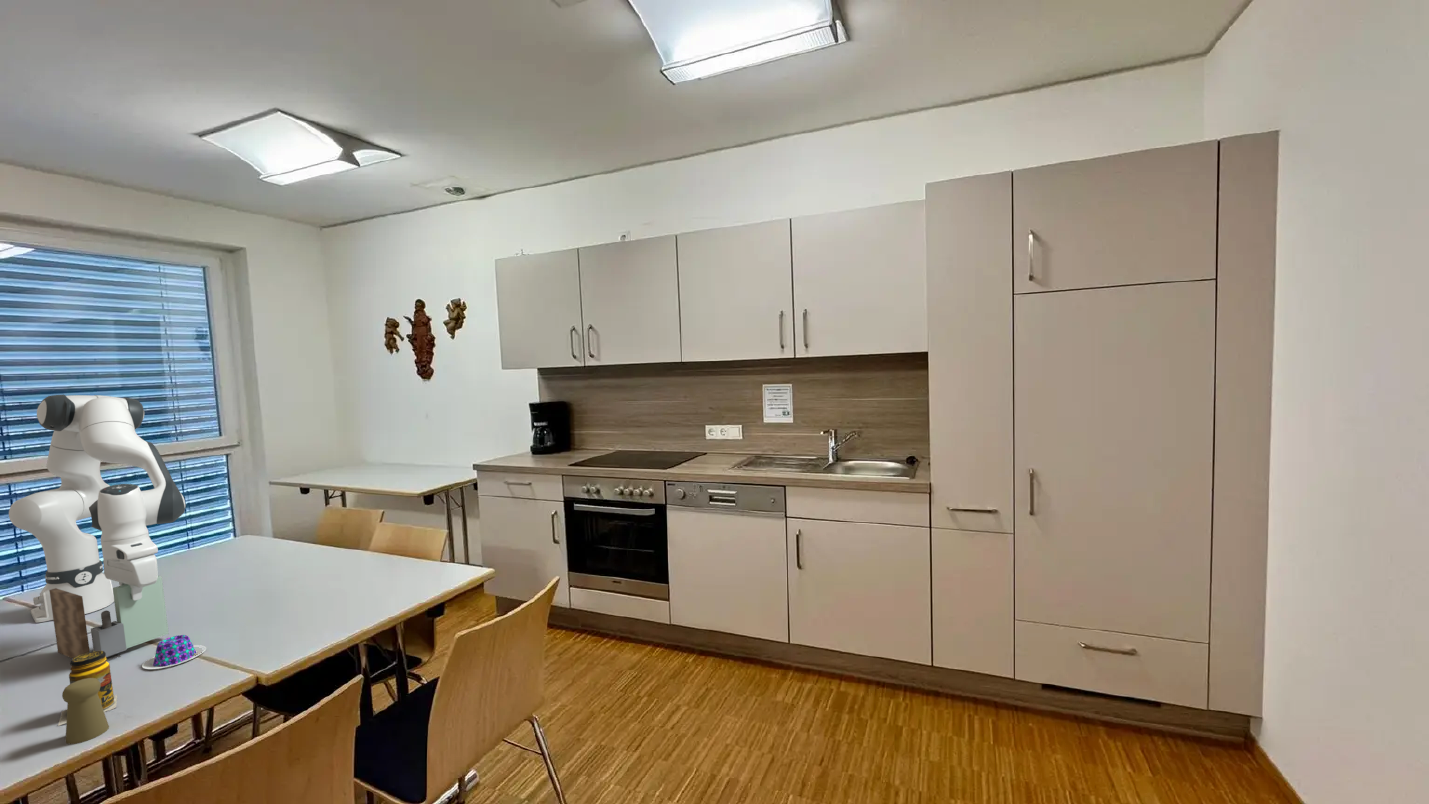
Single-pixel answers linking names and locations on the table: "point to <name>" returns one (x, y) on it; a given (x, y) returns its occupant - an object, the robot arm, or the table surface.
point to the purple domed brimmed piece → (172, 652)
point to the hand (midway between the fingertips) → (132, 598)
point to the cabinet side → (73, 623)
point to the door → (133, 620)
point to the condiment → (93, 668)
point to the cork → (84, 711)
